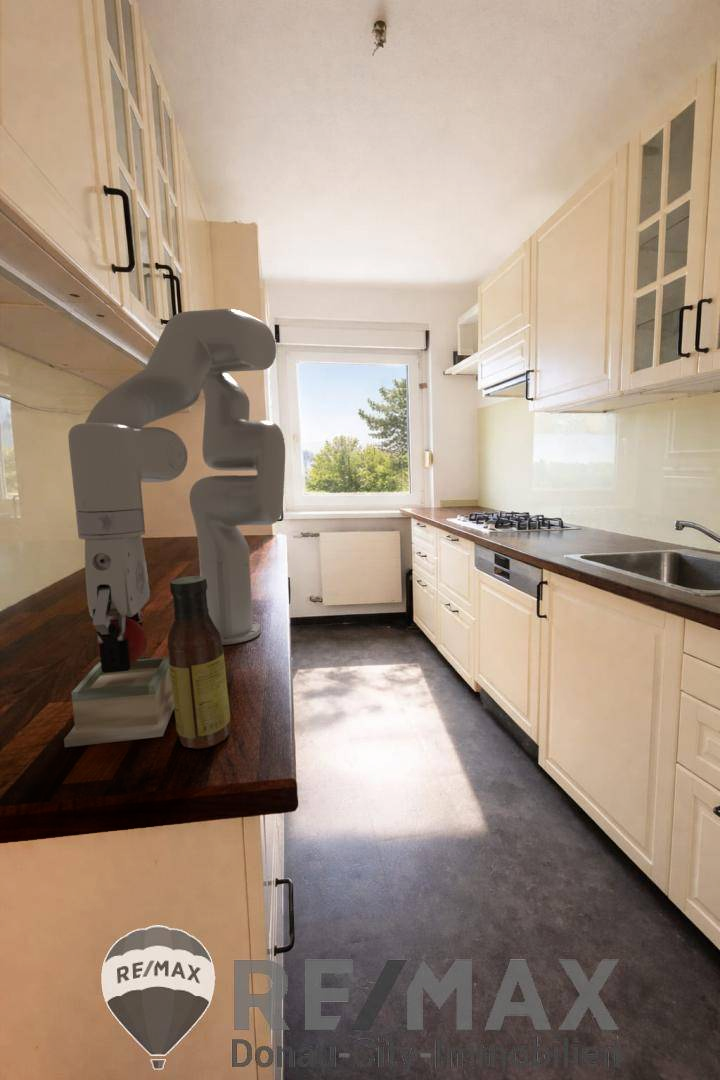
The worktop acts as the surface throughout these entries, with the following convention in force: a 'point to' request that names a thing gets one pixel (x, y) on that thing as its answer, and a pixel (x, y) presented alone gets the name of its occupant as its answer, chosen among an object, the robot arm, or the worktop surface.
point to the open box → (122, 704)
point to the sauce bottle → (197, 667)
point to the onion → (132, 638)
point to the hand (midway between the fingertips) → (124, 659)
